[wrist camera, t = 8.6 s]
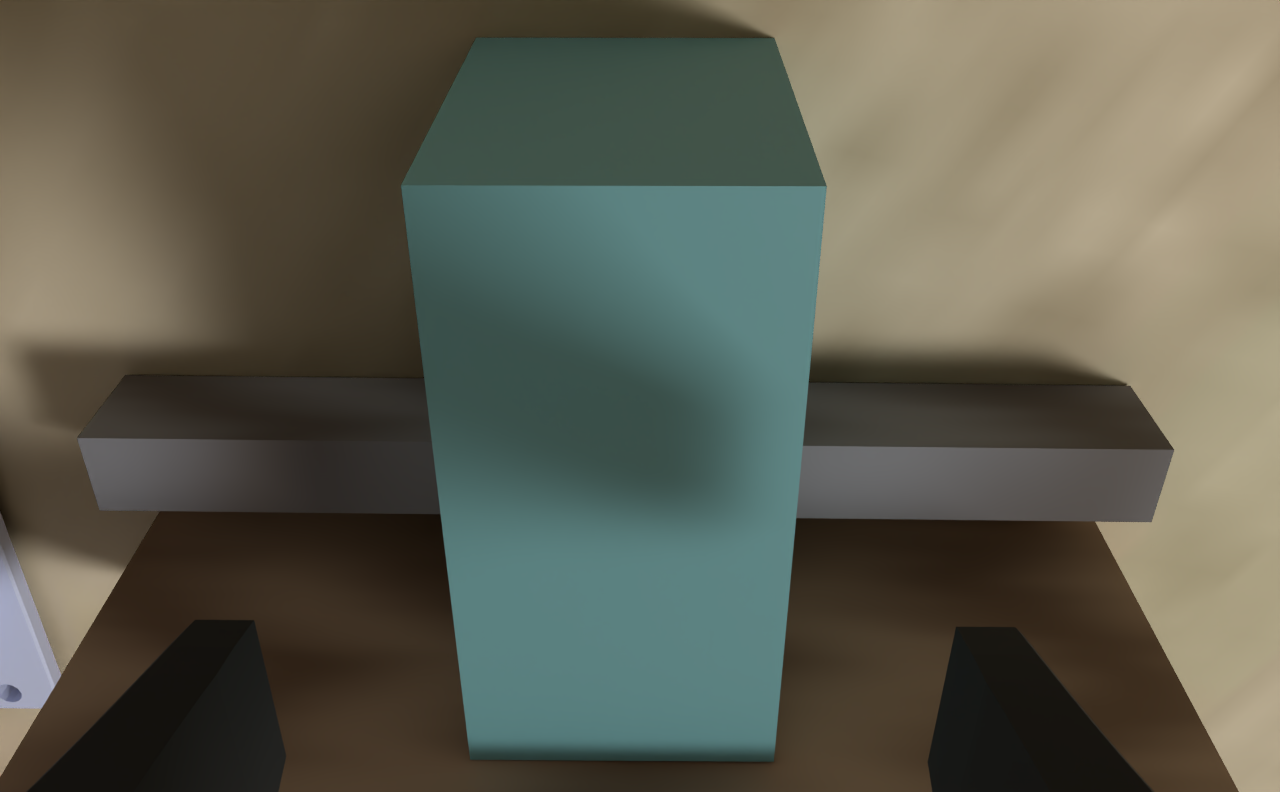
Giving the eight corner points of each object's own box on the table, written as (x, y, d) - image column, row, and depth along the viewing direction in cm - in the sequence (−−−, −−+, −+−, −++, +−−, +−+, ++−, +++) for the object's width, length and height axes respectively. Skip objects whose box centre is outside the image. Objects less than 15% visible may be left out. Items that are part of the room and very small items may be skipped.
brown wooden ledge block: (183, 586, 23) (18, 900, 17) (125, 375, 20) (-95, 660, 14) (1071, 596, 23) (1218, 915, 17) (1130, 385, 20) (1330, 677, 14)
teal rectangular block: (512, 510, 22) (470, 759, 17) (476, 37, 17) (400, 185, 12) (745, 510, 22) (773, 762, 17) (773, 37, 17) (826, 185, 12)
